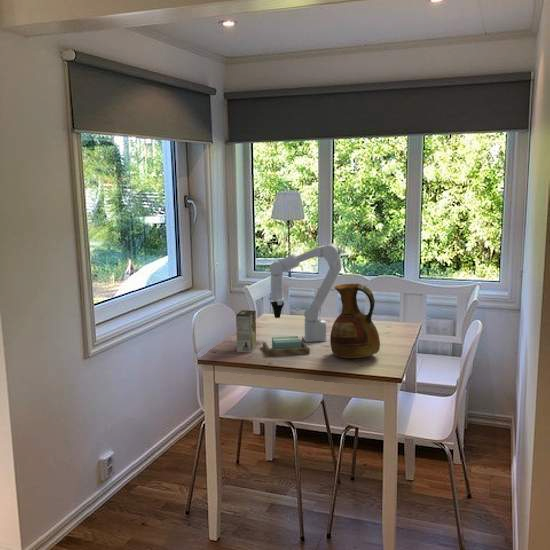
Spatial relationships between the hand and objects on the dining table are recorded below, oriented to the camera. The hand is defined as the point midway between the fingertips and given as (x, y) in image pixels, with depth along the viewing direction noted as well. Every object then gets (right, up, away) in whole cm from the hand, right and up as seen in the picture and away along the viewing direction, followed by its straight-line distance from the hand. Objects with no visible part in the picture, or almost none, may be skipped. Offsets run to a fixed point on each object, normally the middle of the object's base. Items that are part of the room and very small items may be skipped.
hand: (277, 317), depth 269 cm
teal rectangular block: (+4, -13, -18) cm, 23 cm away
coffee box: (-13, -13, -17) cm, 25 cm away
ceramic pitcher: (+31, -14, -27) cm, 44 cm away
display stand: (+3, -12, -18) cm, 22 cm away
